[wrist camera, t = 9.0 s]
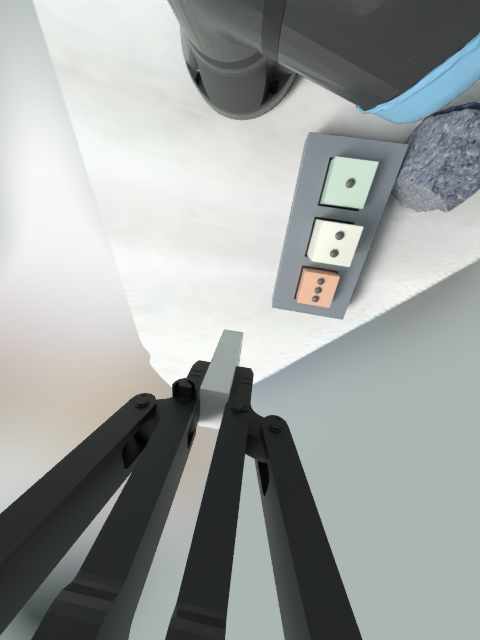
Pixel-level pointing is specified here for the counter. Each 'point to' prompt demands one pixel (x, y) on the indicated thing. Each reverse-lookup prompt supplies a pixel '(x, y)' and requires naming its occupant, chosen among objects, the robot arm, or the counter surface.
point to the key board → (333, 216)
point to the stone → (441, 160)
